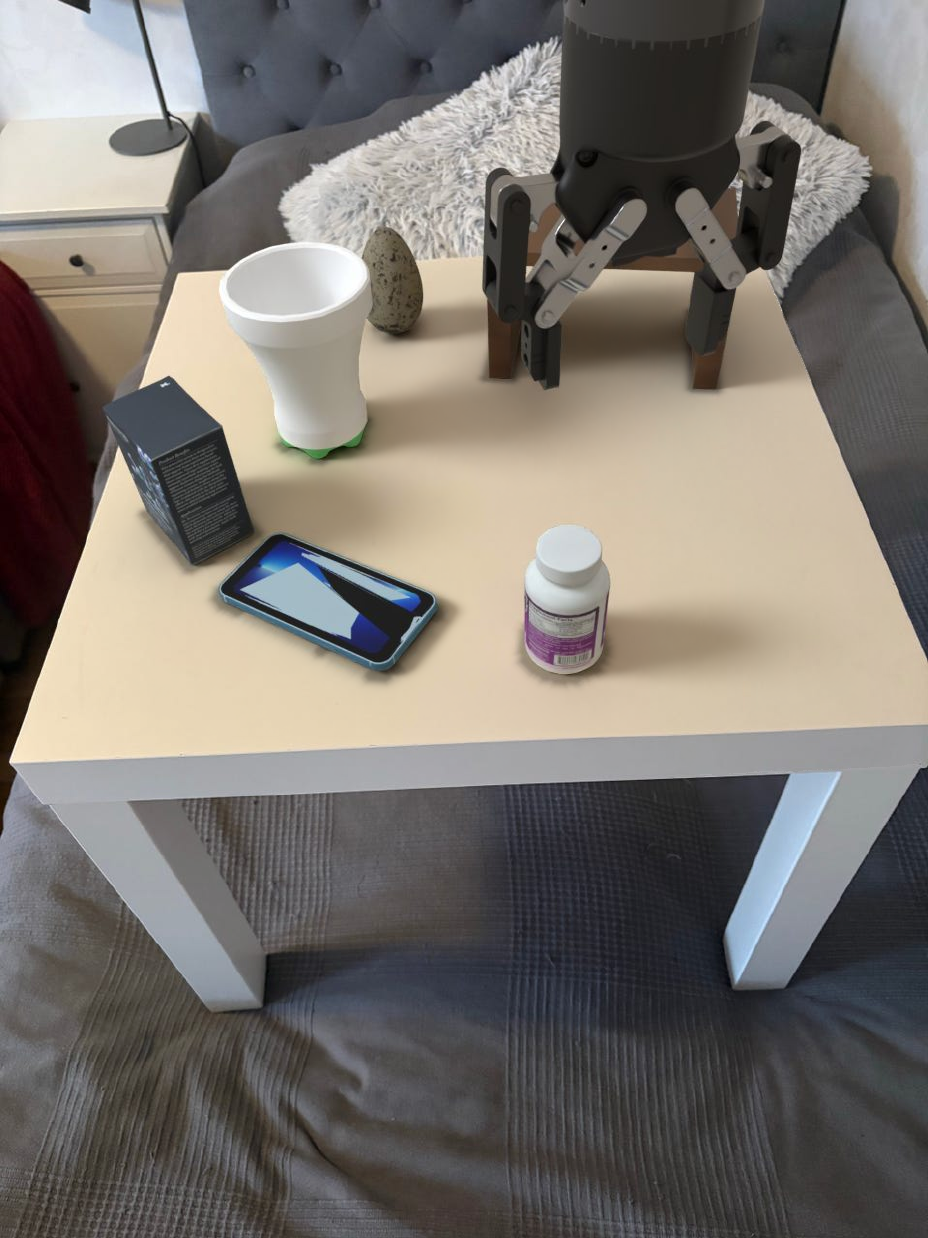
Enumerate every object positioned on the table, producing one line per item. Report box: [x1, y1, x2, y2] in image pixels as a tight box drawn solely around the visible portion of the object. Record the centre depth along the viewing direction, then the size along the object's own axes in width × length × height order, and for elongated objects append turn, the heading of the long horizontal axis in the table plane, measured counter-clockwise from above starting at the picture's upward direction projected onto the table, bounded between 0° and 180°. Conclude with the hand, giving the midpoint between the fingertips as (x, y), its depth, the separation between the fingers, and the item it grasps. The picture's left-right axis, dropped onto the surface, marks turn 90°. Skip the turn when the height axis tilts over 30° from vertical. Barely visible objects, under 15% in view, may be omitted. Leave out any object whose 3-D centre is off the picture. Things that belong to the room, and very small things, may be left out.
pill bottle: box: [523, 524, 611, 675], centre depth 59 cm, size 5×5×10 cm
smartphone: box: [218, 532, 438, 671], centre depth 65 cm, size 7×1×15 cm
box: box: [102, 375, 255, 565], centre depth 68 cm, size 8×6×11 cm
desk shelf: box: [486, 187, 739, 390], centre depth 80 cm, size 20×12×12 cm, turn 82°
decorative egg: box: [361, 226, 424, 335], centre depth 84 cm, size 6×6×10 cm
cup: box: [218, 241, 373, 459], centre depth 73 cm, size 11×11×14 cm
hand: (623, 363), depth 47 cm, fingers open, 8 cm apart
